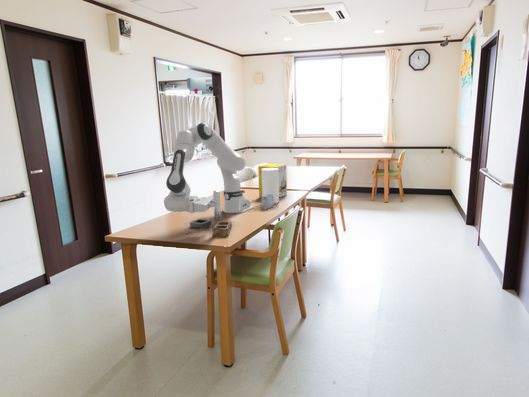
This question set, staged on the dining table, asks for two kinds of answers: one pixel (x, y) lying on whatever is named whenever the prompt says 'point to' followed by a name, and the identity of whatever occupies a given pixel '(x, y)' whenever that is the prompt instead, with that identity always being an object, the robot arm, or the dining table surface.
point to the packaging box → (281, 178)
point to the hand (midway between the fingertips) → (218, 203)
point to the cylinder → (270, 183)
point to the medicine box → (267, 201)
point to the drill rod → (218, 209)
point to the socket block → (200, 223)
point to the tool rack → (222, 229)
